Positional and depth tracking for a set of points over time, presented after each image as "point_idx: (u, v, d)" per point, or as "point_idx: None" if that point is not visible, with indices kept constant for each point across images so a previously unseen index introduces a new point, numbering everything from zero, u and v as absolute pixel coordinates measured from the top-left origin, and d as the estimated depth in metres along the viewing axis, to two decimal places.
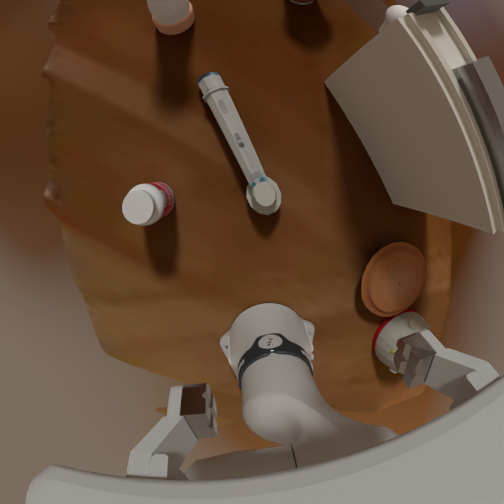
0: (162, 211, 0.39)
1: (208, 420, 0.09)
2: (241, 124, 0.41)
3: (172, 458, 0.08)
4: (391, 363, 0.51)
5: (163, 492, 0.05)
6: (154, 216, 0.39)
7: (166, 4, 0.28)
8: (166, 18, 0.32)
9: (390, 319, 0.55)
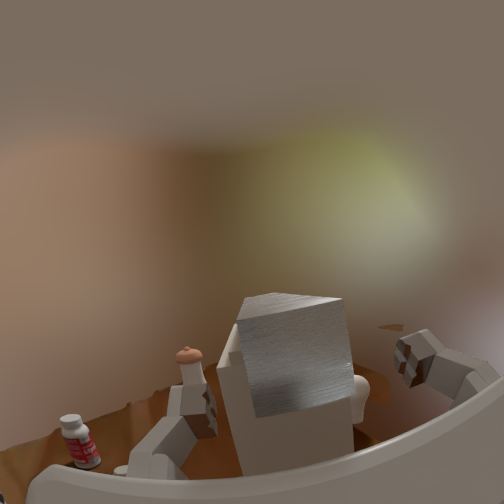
0: (75, 436, 0.36)
1: (208, 420, 0.09)
2: None
3: (172, 458, 0.08)
4: None
5: (163, 492, 0.05)
6: (69, 431, 0.36)
7: (188, 383, 0.65)
8: None
9: None
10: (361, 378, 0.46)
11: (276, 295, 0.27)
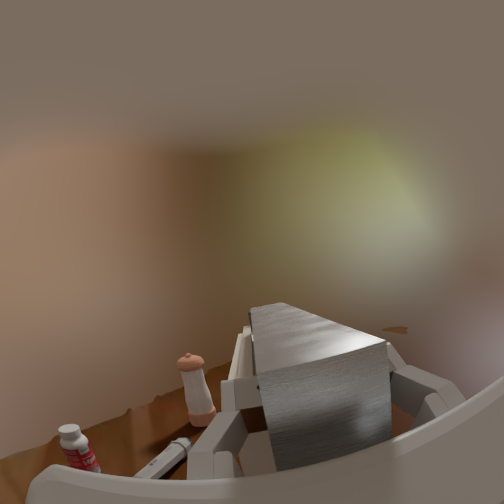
0: (74, 447, 0.34)
1: None
2: (167, 461, 0.39)
3: None
4: None
5: (163, 492, 0.05)
6: (68, 442, 0.34)
7: (189, 391, 0.62)
8: (189, 404, 0.61)
9: None
10: None
11: (287, 310, 0.24)
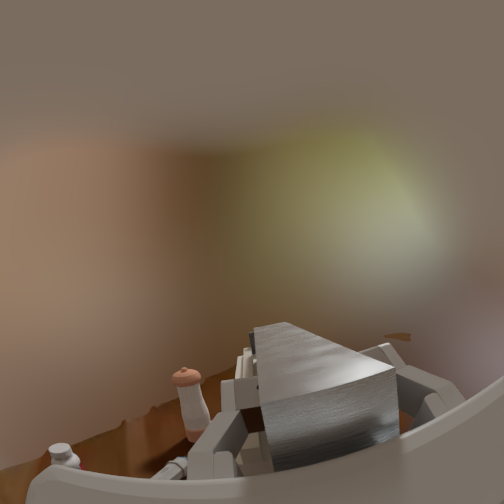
0: None
1: None
2: None
3: None
4: None
5: (163, 492, 0.05)
6: (59, 463, 0.29)
7: (186, 406, 0.57)
8: (186, 420, 0.57)
9: None
10: None
11: (291, 330, 0.23)
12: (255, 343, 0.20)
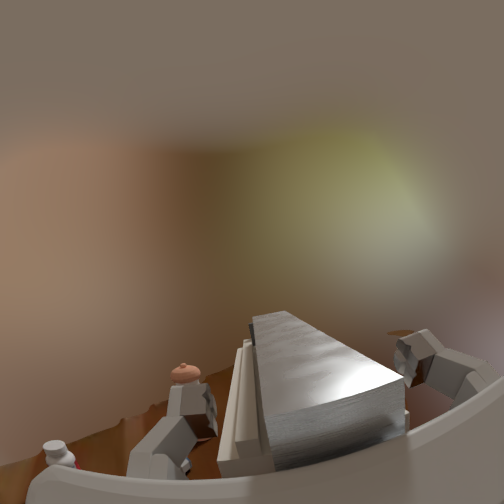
0: None
1: (208, 420, 0.09)
2: None
3: (172, 458, 0.08)
4: None
5: (163, 492, 0.05)
6: (53, 460, 0.28)
7: None
8: None
9: None
10: None
11: (291, 322, 0.23)
12: (255, 337, 0.19)
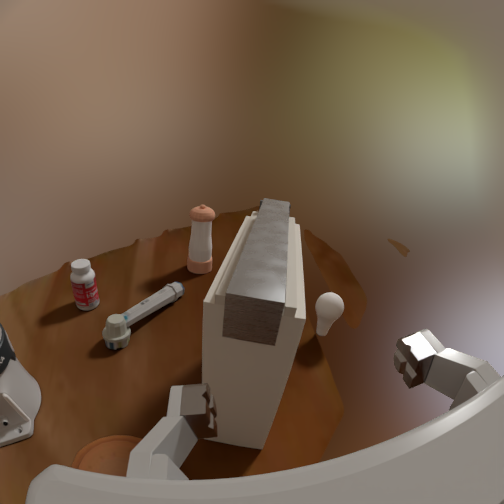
0: (82, 281, 0.54)
1: (208, 420, 0.09)
2: (156, 302, 0.59)
3: (172, 458, 0.08)
4: None
5: (163, 492, 0.05)
6: (77, 277, 0.54)
7: (194, 239, 0.77)
8: (191, 251, 0.78)
9: None
10: (339, 300, 0.56)
11: (281, 223, 0.34)
12: (251, 229, 0.31)
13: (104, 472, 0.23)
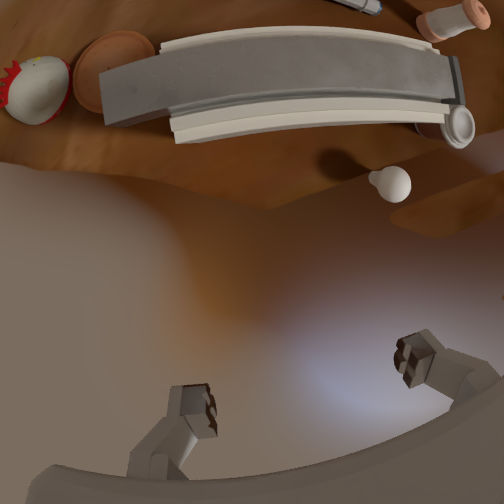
0: None
1: (208, 420, 0.09)
2: None
3: (172, 458, 0.08)
4: (26, 61, 0.28)
5: (163, 492, 0.05)
6: None
7: (446, 11, 0.28)
8: (433, 12, 0.31)
9: (68, 71, 0.35)
10: (397, 195, 0.41)
11: (344, 76, 0.16)
12: (286, 37, 0.15)
13: (107, 55, 0.33)
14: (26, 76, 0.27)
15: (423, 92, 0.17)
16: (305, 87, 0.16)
